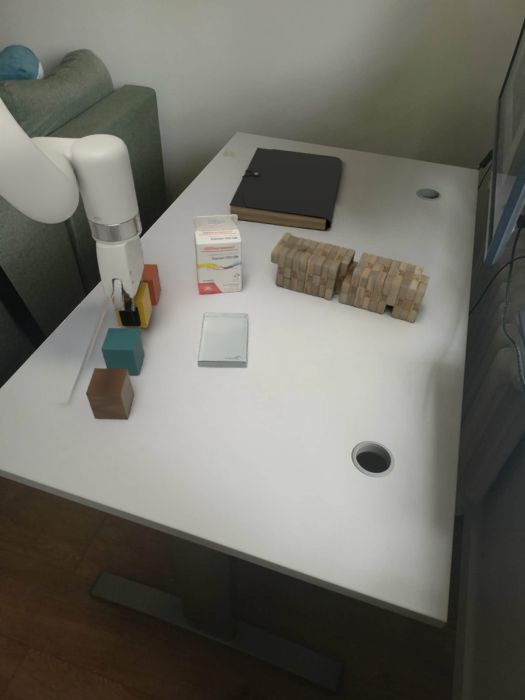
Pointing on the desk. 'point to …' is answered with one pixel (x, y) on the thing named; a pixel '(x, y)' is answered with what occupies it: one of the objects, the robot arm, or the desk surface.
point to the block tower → (349, 276)
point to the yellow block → (139, 305)
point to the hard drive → (223, 340)
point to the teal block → (123, 349)
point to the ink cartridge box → (218, 254)
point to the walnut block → (110, 393)
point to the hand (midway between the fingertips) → (134, 313)
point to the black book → (288, 189)
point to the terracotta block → (152, 282)
